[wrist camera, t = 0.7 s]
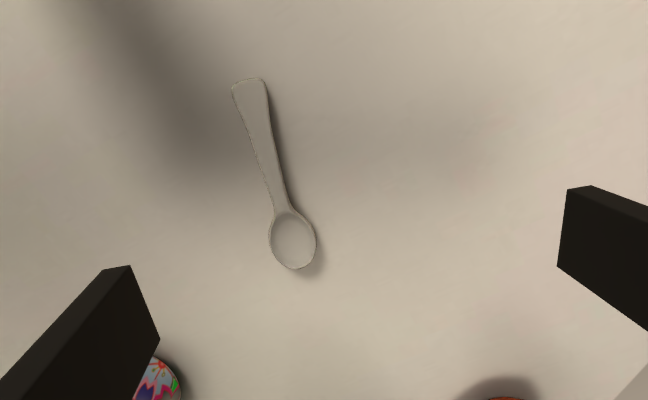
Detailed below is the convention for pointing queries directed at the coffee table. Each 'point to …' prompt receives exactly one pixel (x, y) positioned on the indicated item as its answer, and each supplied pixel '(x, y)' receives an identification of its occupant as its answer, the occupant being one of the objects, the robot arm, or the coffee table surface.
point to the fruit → (504, 398)
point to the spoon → (274, 178)
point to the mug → (158, 383)
